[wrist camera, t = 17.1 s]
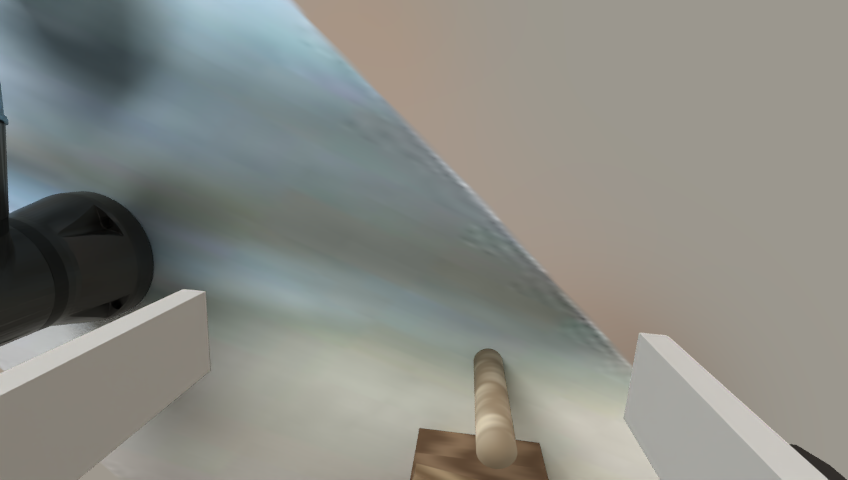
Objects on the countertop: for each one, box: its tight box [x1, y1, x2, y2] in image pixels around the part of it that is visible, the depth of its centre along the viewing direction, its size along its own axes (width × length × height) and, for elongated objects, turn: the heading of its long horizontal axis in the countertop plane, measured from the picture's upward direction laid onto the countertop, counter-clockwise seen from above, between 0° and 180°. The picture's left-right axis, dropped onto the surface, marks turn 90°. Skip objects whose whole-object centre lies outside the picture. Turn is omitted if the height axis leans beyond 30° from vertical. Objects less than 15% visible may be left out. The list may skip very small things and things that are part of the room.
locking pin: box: [474, 349, 517, 469], centre depth 38 cm, size 3×3×14 cm
